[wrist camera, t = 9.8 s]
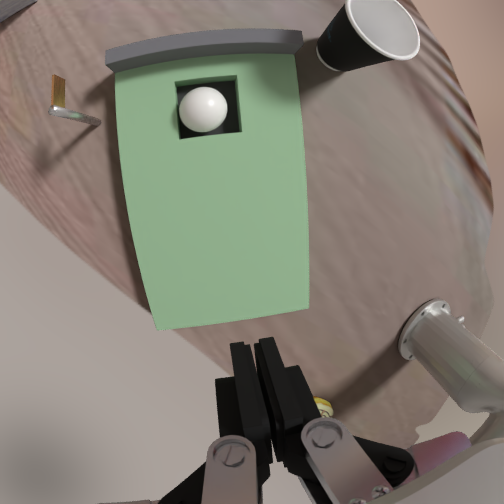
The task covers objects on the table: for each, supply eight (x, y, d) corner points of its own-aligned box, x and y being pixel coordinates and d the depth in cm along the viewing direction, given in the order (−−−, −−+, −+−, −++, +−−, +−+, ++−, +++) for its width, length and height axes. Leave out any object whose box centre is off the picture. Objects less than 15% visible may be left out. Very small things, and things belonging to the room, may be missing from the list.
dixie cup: (371, 80, 26) (431, 61, 16) (315, 87, 26) (367, 59, 16) (350, 27, 23) (400, -7, 13) (293, 29, 23) (332, -17, 13)
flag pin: (100, 95, 22) (57, 73, 13) (101, 124, 24) (56, 113, 14) (93, 97, 22) (49, 76, 13) (95, 126, 23) (48, 116, 14)
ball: (233, 132, 25) (224, 96, 25) (229, 112, 21) (219, 73, 20) (189, 144, 25) (182, 107, 25) (177, 126, 21) (170, 86, 21)
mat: (286, 49, 24) (301, 30, 19) (302, 298, 34) (317, 321, 29) (121, 66, 22) (105, 50, 17) (159, 319, 32) (153, 346, 27)
